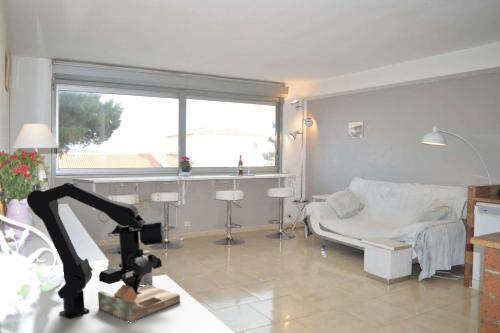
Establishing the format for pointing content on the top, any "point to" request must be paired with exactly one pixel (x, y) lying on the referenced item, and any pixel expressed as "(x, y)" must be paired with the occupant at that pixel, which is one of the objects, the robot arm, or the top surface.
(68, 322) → the top surface
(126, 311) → the board
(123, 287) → the block
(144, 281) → the energy drink
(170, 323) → the top surface
